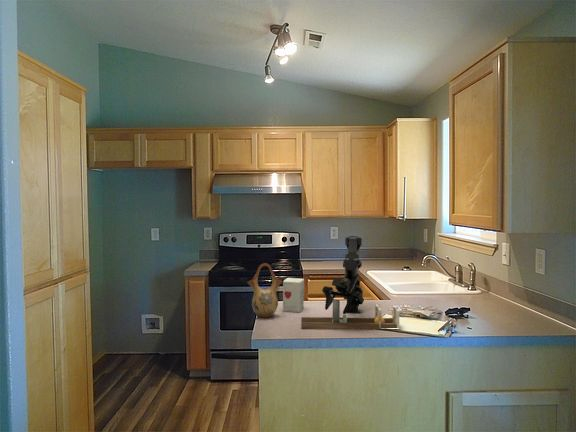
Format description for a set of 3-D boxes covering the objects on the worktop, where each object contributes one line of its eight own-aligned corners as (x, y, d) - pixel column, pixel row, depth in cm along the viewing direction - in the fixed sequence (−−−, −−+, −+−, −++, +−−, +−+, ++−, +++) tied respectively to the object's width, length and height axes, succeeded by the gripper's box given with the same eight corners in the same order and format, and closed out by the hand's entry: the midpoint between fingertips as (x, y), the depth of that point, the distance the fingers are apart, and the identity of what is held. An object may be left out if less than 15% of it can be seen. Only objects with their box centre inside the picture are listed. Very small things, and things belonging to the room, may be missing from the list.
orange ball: (380, 313, 167) (385, 321, 167) (371, 318, 168) (376, 326, 168) (382, 316, 163) (387, 324, 163) (373, 321, 163) (378, 330, 163)
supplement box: (282, 311, 188) (282, 281, 188) (286, 306, 197) (286, 277, 196) (300, 312, 186) (300, 281, 186) (304, 307, 195) (304, 278, 194)
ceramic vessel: (247, 319, 175) (247, 265, 174) (247, 314, 184) (247, 262, 183) (283, 318, 176) (283, 264, 175) (281, 313, 185) (281, 261, 184)
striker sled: (331, 323, 169) (331, 298, 168) (345, 323, 168) (345, 298, 168) (332, 327, 163) (332, 301, 163) (347, 328, 163) (347, 301, 162)
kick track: (301, 322, 171) (301, 303, 170) (394, 323, 169) (394, 304, 169) (301, 328, 162) (301, 308, 162) (399, 329, 161) (399, 309, 161)
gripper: (324, 268, 173) (308, 297, 165) (360, 273, 160) (345, 304, 153) (334, 282, 179) (320, 311, 171) (370, 288, 166) (356, 320, 159)
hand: (334, 311), depth 163 cm, fingers open, 9 cm apart
